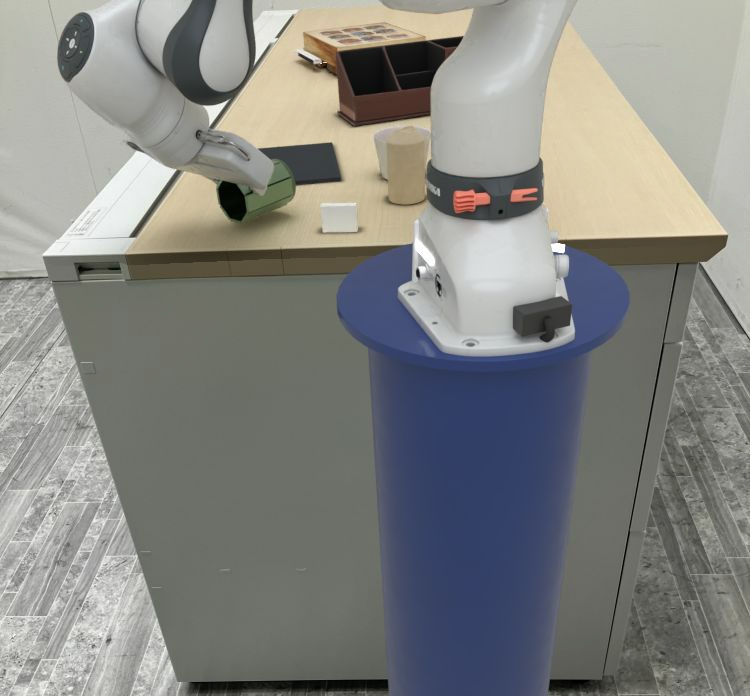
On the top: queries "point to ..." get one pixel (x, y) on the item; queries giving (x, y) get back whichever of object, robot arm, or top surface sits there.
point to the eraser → (339, 217)
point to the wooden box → (350, 41)
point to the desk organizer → (389, 79)
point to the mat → (307, 161)
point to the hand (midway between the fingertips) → (242, 185)
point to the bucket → (248, 205)
